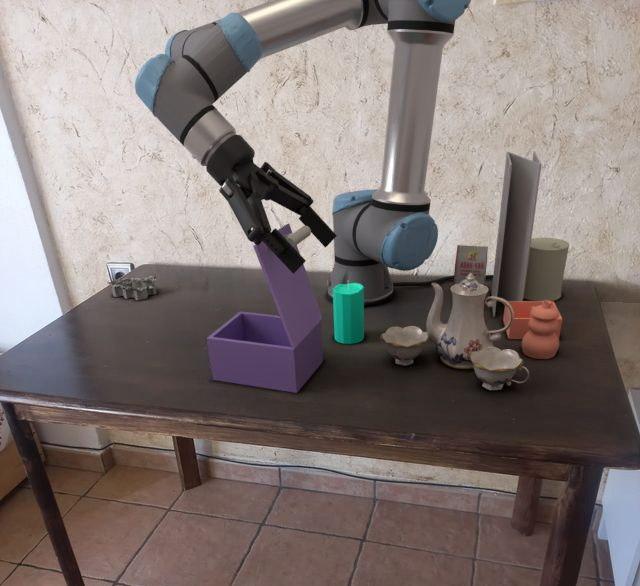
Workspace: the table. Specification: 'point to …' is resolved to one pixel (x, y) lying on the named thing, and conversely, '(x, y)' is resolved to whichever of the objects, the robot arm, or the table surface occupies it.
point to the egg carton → (134, 287)
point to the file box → (263, 353)
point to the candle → (348, 313)
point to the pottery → (535, 327)
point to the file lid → (290, 288)
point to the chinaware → (460, 336)
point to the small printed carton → (470, 263)
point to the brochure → (515, 227)
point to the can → (545, 269)
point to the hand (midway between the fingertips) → (316, 254)
